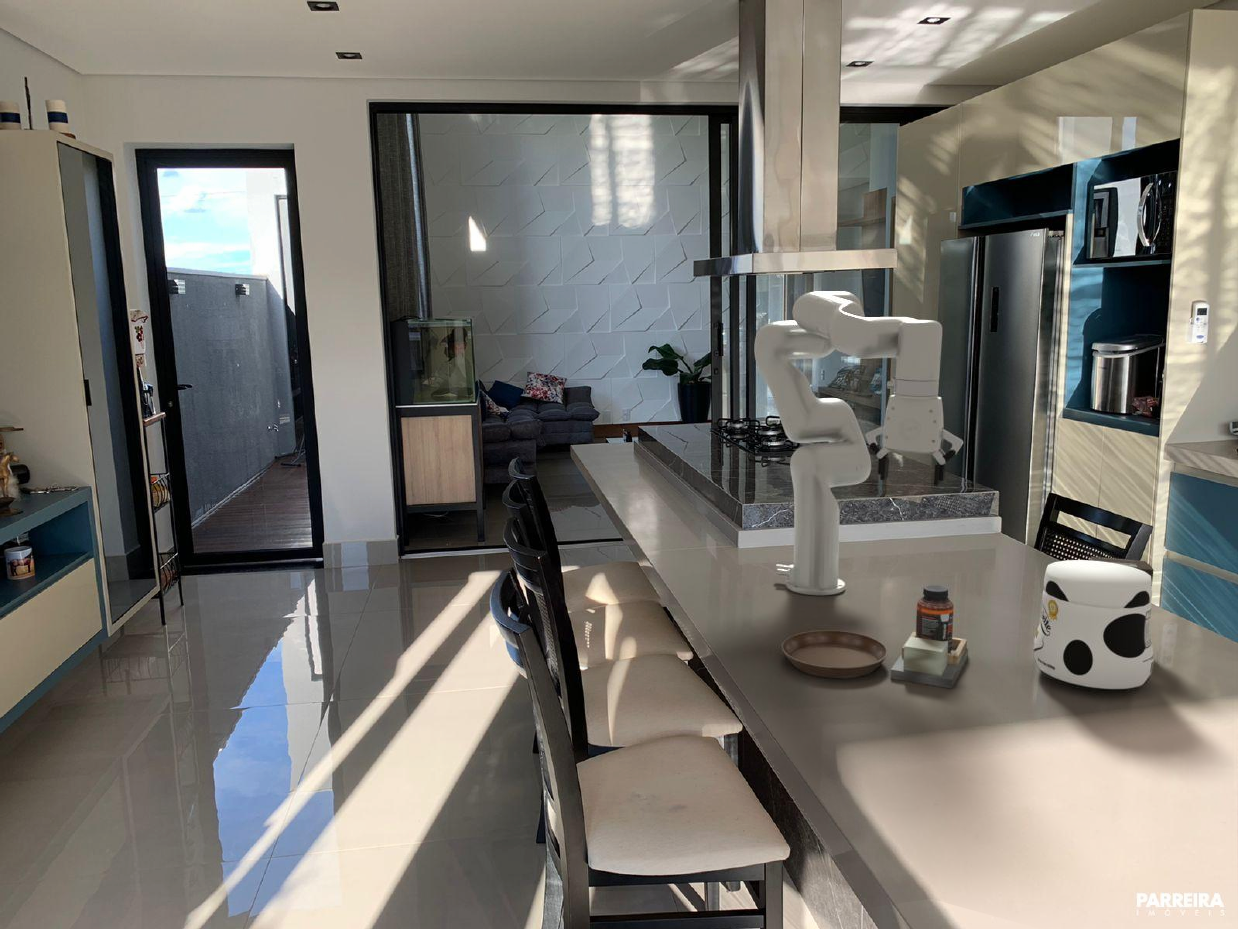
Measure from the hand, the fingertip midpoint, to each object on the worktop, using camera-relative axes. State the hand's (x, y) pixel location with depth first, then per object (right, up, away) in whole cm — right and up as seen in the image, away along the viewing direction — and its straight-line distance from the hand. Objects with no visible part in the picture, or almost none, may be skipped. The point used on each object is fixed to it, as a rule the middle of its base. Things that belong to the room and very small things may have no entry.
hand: (910, 481), depth 174 cm
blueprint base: (-1, -31, -14) cm, 34 cm away
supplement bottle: (0, -29, -11) cm, 31 cm away
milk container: (+23, -32, -21) cm, 44 cm away
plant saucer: (-17, -31, -12) cm, 37 cm away
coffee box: (+33, -30, -8) cm, 45 cm away
